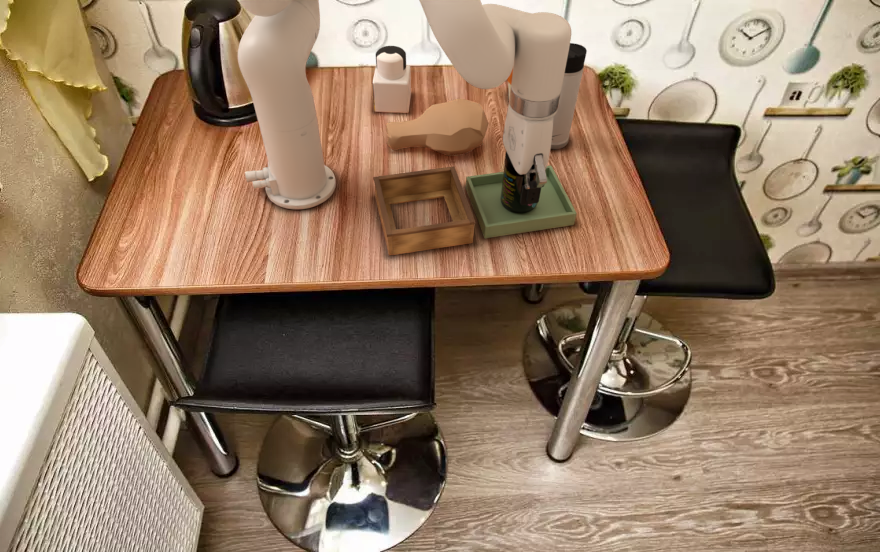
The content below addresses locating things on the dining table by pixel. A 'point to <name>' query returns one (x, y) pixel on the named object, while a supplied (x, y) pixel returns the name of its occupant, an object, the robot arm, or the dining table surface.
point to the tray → (500, 221)
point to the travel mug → (568, 96)
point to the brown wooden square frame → (424, 188)
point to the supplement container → (514, 188)
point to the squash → (442, 128)
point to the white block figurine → (391, 81)
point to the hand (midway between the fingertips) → (521, 185)
